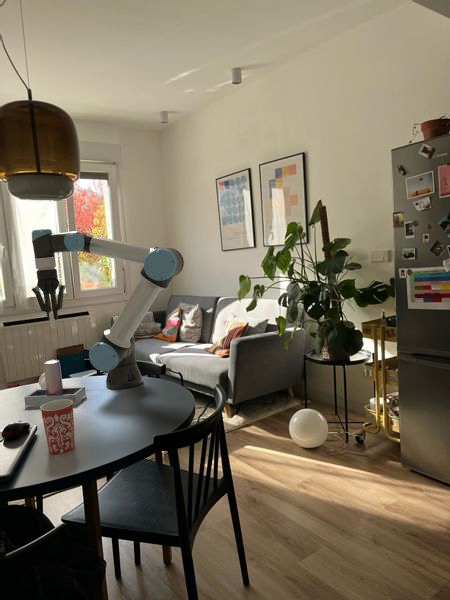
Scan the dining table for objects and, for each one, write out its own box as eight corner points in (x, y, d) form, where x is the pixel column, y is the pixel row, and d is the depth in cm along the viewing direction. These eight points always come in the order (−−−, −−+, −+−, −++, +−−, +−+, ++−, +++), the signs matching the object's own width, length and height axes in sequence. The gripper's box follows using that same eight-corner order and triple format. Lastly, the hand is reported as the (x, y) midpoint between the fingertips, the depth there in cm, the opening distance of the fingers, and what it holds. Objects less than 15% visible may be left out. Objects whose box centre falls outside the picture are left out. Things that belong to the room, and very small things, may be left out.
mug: (78, 451, 129) (73, 406, 127) (44, 458, 126) (38, 412, 125) (78, 435, 141) (73, 393, 139) (47, 441, 138) (42, 398, 137)
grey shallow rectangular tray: (86, 396, 180) (85, 386, 180) (76, 405, 170) (74, 395, 170) (38, 398, 182) (36, 389, 181) (25, 407, 172) (23, 397, 171)
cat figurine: (52, 372, 185) (47, 361, 198) (35, 385, 182) (31, 373, 195) (66, 388, 189) (61, 376, 202) (50, 401, 186) (45, 388, 199)
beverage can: (49, 398, 178) (44, 361, 176) (65, 396, 179) (60, 359, 178) (46, 403, 172) (41, 364, 171) (63, 400, 174) (58, 362, 172)
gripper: (66, 267, 182) (73, 325, 184) (34, 270, 182) (41, 327, 184) (59, 267, 174) (67, 328, 177) (25, 270, 174) (34, 331, 177)
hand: (54, 327), depth 181 cm, fingers closed
